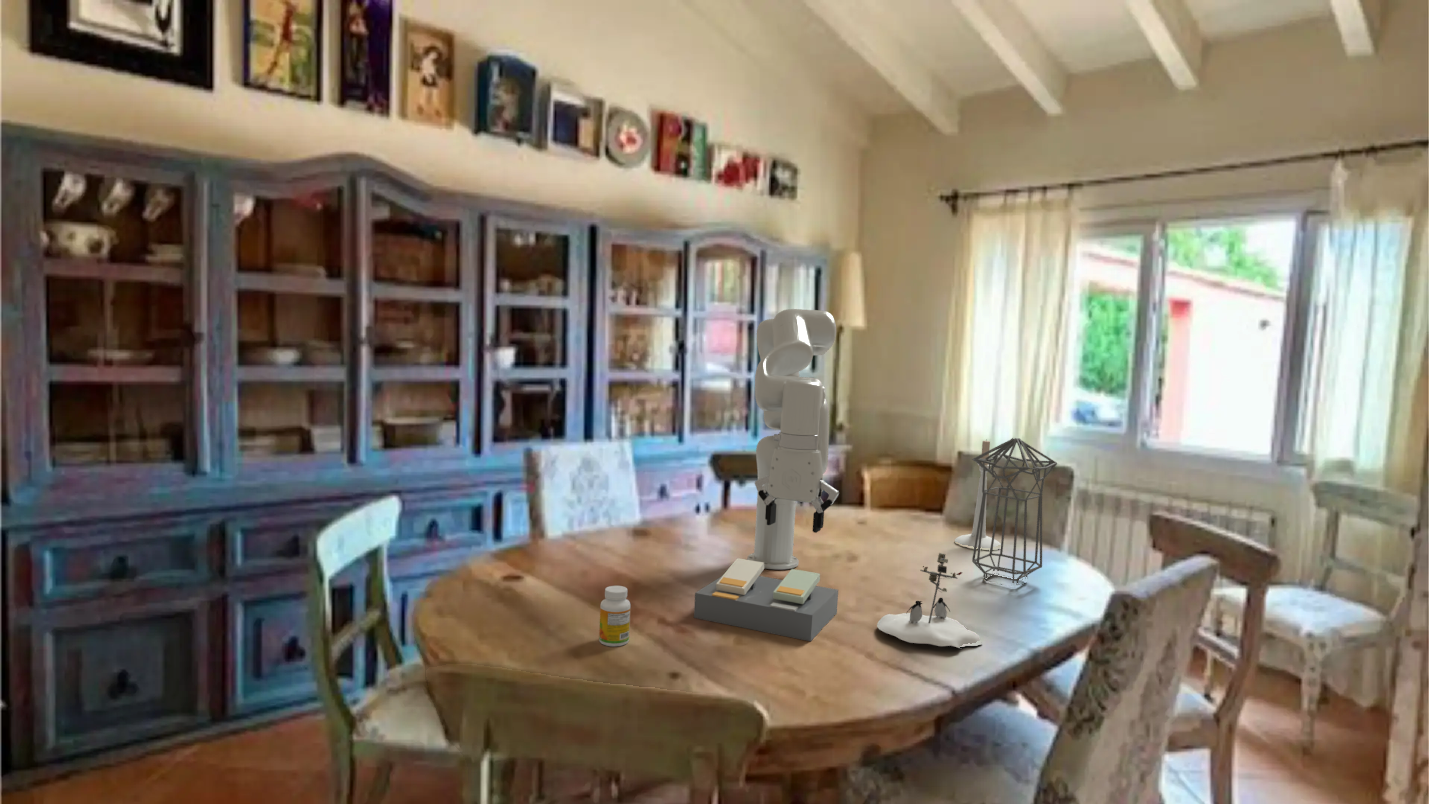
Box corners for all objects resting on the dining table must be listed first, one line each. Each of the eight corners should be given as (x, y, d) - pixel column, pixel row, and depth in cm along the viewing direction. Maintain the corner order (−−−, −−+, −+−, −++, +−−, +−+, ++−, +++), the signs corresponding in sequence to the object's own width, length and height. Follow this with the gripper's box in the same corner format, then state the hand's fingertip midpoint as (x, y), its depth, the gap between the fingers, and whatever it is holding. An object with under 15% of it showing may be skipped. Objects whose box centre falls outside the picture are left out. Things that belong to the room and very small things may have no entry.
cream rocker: (737, 564, 178) (737, 557, 178) (764, 568, 176) (764, 561, 176) (716, 589, 169) (716, 582, 168) (744, 595, 167) (744, 587, 166)
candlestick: (1006, 544, 241) (1015, 440, 238) (995, 553, 230) (1004, 444, 227) (961, 536, 248) (969, 435, 245) (948, 545, 237) (956, 438, 234)
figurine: (914, 654, 152) (928, 564, 151) (858, 622, 168) (870, 541, 168) (1000, 654, 160) (1013, 568, 159) (938, 622, 176) (950, 545, 176)
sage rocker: (791, 575, 174) (791, 567, 173) (820, 580, 171) (820, 572, 171) (773, 598, 164) (773, 591, 164) (803, 604, 162) (803, 596, 161)
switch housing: (729, 593, 184) (730, 565, 183) (836, 613, 174) (838, 584, 174) (693, 617, 167) (695, 587, 167) (810, 641, 158) (812, 609, 157)
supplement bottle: (599, 635, 155) (601, 583, 154) (629, 636, 156) (631, 584, 155) (598, 646, 150) (600, 593, 149) (628, 647, 150) (631, 594, 149)
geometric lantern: (1049, 584, 203) (1062, 440, 200) (1022, 597, 192) (1035, 444, 189) (987, 569, 214) (999, 432, 211) (958, 580, 203) (969, 435, 200)
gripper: (751, 439, 168) (746, 524, 169) (835, 449, 160) (829, 538, 162) (765, 436, 174) (760, 518, 176) (846, 445, 167) (841, 530, 169)
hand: (793, 527), depth 169 cm, fingers open, 9 cm apart
